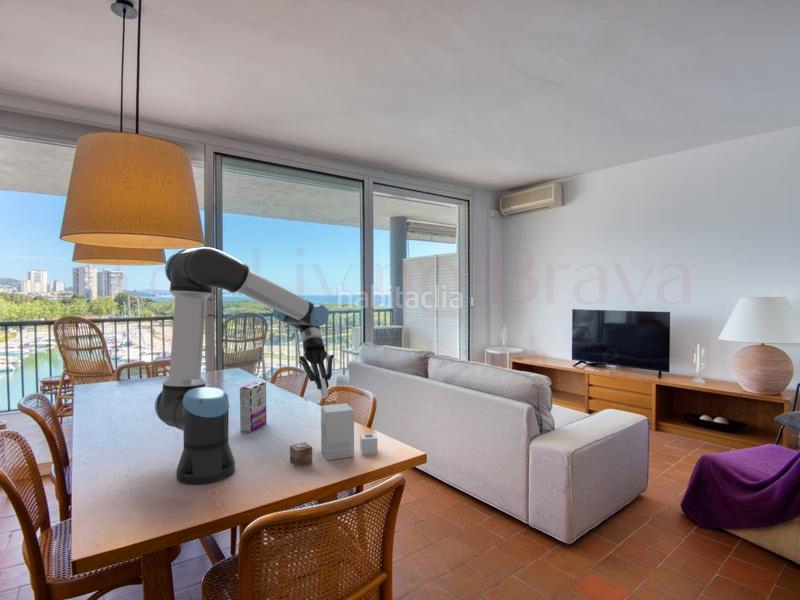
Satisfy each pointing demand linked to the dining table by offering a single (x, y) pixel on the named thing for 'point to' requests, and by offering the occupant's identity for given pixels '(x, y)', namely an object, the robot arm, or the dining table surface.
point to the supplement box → (337, 431)
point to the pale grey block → (368, 443)
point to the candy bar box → (252, 406)
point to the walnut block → (301, 454)
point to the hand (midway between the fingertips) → (325, 396)
